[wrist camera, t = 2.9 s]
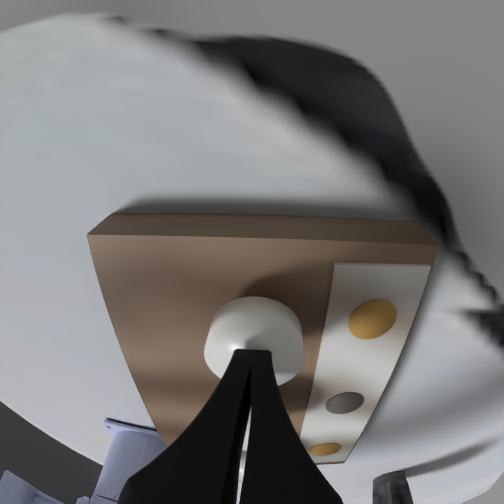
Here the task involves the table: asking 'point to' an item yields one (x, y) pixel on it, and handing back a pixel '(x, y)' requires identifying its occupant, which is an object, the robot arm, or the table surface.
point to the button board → (269, 286)
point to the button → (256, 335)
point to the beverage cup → (391, 489)
